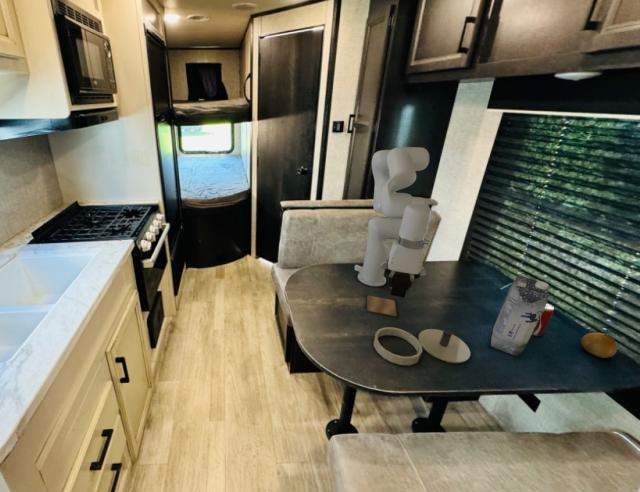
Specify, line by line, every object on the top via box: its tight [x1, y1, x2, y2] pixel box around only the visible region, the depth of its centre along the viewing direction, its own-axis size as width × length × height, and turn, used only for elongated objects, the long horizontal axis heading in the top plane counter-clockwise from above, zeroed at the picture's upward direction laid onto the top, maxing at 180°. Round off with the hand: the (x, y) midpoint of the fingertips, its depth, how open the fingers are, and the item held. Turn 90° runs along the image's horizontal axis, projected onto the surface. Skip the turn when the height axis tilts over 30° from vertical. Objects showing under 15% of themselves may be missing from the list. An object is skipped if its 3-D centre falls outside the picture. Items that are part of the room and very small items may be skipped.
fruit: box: [581, 332, 618, 359], centre depth 105 cm, size 8×8×8 cm
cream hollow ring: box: [373, 326, 423, 366], centre depth 108 cm, size 15×15×4 cm
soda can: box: [531, 302, 555, 337], centre depth 113 cm, size 5×5×12 cm
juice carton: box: [490, 274, 550, 357], centre depth 104 cm, size 9×10×27 cm
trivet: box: [366, 294, 397, 317], centre depth 130 cm, size 11×11×1 cm
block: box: [389, 271, 410, 299], centre depth 110 cm, size 5×5×8 cm
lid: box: [417, 328, 471, 364], centre depth 108 cm, size 16×16×7 cm
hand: (398, 286), depth 111 cm, fingers closed on block, 4 cm apart
